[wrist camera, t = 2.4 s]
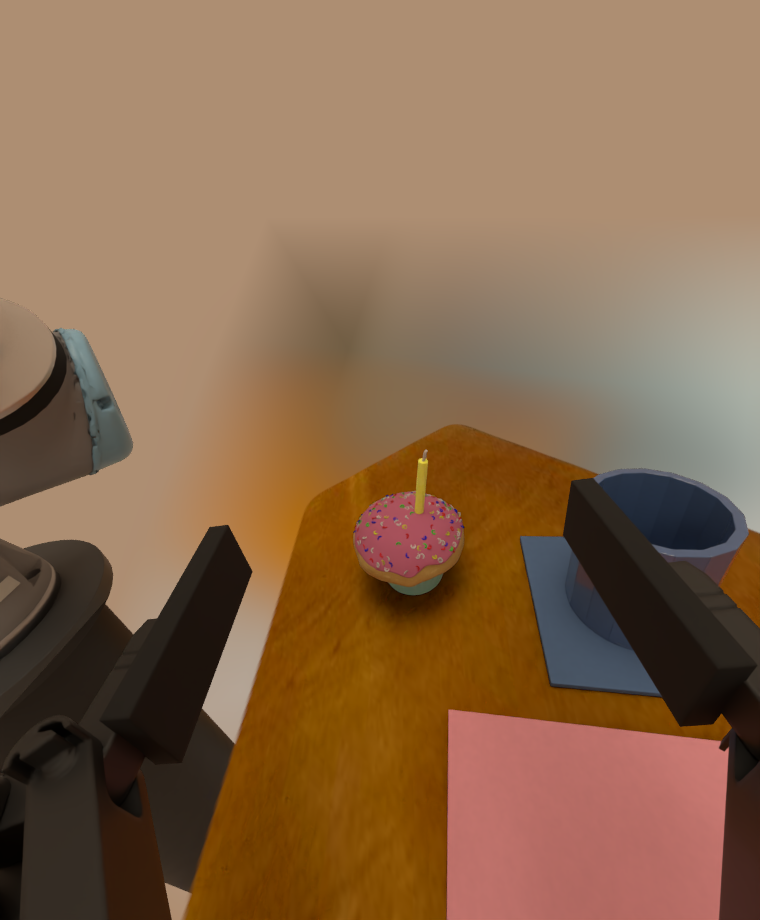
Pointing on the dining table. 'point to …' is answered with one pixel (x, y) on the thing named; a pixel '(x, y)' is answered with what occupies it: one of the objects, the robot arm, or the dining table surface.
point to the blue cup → (662, 534)
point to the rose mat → (581, 822)
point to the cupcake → (409, 538)
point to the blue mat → (575, 629)
